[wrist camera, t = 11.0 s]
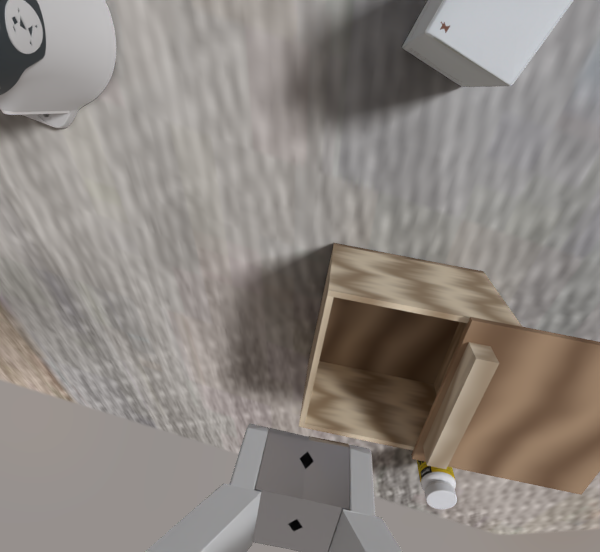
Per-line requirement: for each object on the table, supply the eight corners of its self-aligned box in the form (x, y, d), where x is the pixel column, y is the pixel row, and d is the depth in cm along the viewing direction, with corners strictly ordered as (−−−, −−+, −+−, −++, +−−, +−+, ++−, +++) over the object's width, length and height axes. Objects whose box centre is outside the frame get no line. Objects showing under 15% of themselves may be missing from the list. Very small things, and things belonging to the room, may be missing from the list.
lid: (411, 454, 43) (415, 478, 41) (470, 316, 35) (480, 335, 32) (578, 489, 43) (593, 516, 40) (679, 357, 34) (707, 380, 32)
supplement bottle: (421, 433, 58) (431, 484, 51) (451, 441, 58) (466, 493, 51) (410, 454, 61) (418, 506, 53) (439, 461, 61) (451, 515, 53)
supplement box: (462, 89, 38) (509, 92, 27) (399, 47, 37) (420, 32, 26) (517, 9, 35) (597, -27, 23) (449, -39, 34) (498, -100, 23)
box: (309, 359, 55) (298, 426, 44) (333, 242, 47) (328, 290, 36) (435, 385, 54) (456, 459, 43) (483, 271, 46) (523, 328, 35)
